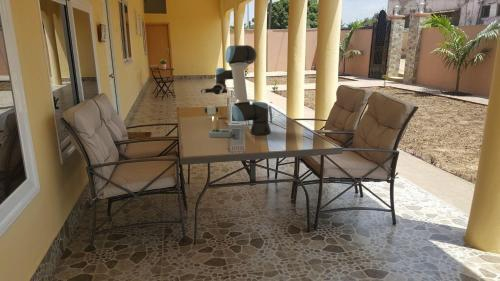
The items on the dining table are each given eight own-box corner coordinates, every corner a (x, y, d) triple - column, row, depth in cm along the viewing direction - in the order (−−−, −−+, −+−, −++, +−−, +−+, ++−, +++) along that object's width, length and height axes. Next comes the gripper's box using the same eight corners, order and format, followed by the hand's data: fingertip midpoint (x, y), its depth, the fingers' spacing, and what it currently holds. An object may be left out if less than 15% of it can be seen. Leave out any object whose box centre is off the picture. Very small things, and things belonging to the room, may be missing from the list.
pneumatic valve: (218, 118, 328) (217, 105, 325) (205, 119, 326) (204, 106, 323) (217, 117, 333) (217, 104, 330) (204, 118, 331) (204, 105, 328)
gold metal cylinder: (219, 134, 271) (218, 116, 268) (218, 136, 267) (217, 117, 263) (213, 134, 272) (212, 116, 268) (212, 136, 268) (211, 117, 264)
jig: (232, 134, 273) (232, 129, 272) (229, 137, 263) (229, 132, 262) (212, 133, 275) (212, 129, 274) (209, 137, 265) (208, 132, 264)
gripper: (233, 93, 291) (228, 97, 271) (203, 93, 295) (195, 97, 274) (233, 84, 289) (228, 87, 269) (202, 84, 293) (194, 87, 272)
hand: (211, 92), depth 271 cm, fingers open, 13 cm apart
